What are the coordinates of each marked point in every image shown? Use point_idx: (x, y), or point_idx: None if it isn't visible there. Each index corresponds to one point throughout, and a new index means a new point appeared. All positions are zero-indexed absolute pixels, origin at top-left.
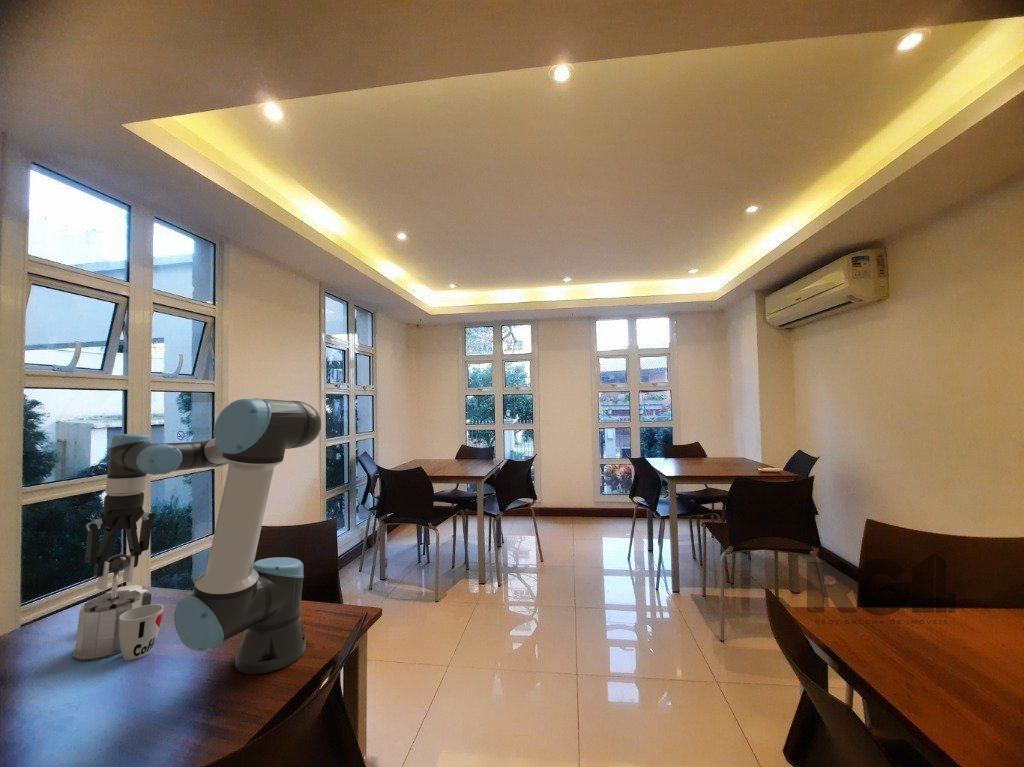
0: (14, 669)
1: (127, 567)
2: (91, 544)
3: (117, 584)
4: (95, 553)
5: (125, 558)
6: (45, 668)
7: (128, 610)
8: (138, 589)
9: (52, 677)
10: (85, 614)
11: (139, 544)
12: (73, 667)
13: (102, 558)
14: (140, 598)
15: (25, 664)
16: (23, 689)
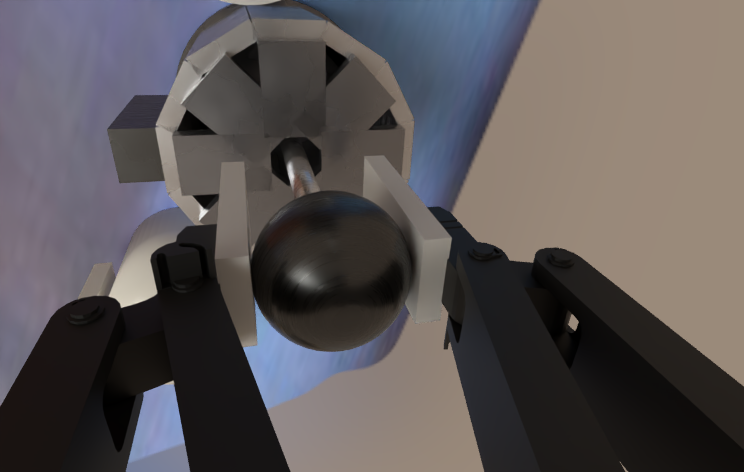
0: (450, 191)
1: (249, 242)
2: (735, 380)
3: (295, 186)
4: (595, 305)
5: (304, 244)
6: (421, 122)
7: (271, 2)
8: (121, 303)
9: (440, 36)
10: (411, 120)
11: (131, 416)
12: (388, 45)
13: (498, 271)
14: (189, 67)
15: (429, 198)
16: (498, 37)
